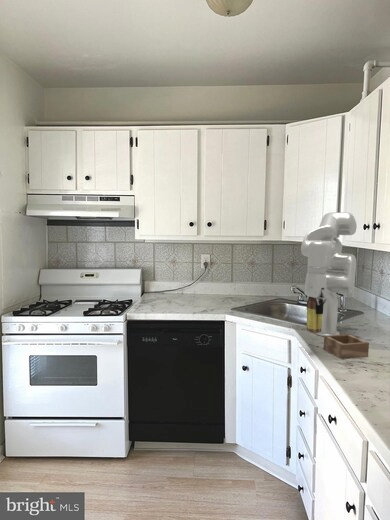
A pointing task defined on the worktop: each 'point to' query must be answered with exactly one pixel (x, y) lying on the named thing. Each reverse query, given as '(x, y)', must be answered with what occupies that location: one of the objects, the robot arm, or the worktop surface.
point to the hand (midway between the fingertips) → (314, 311)
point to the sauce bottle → (313, 316)
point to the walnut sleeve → (346, 346)
